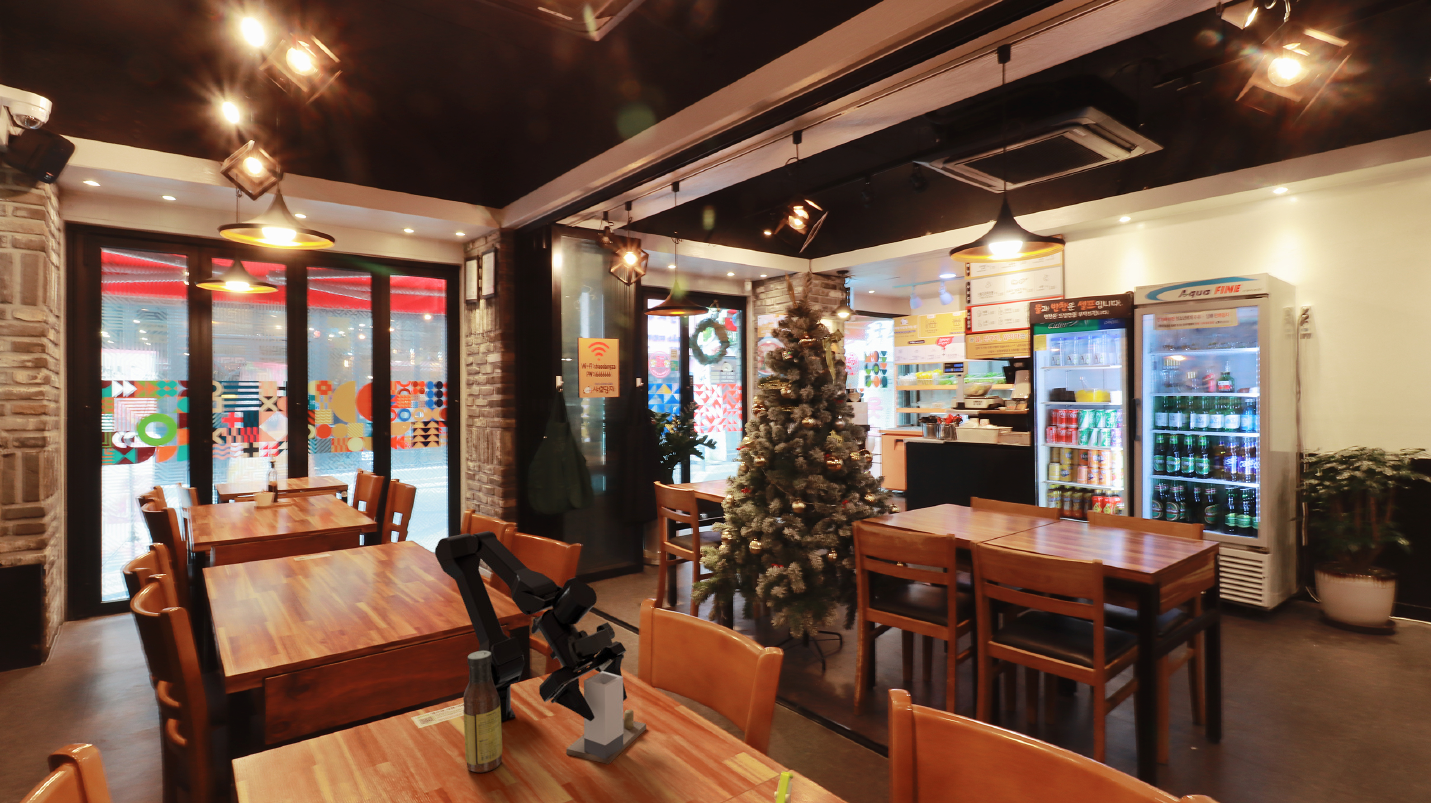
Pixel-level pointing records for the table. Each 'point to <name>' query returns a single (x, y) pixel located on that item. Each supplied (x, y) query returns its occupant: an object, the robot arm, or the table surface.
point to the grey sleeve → (604, 714)
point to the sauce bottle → (482, 716)
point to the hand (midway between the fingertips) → (609, 709)
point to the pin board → (629, 735)
